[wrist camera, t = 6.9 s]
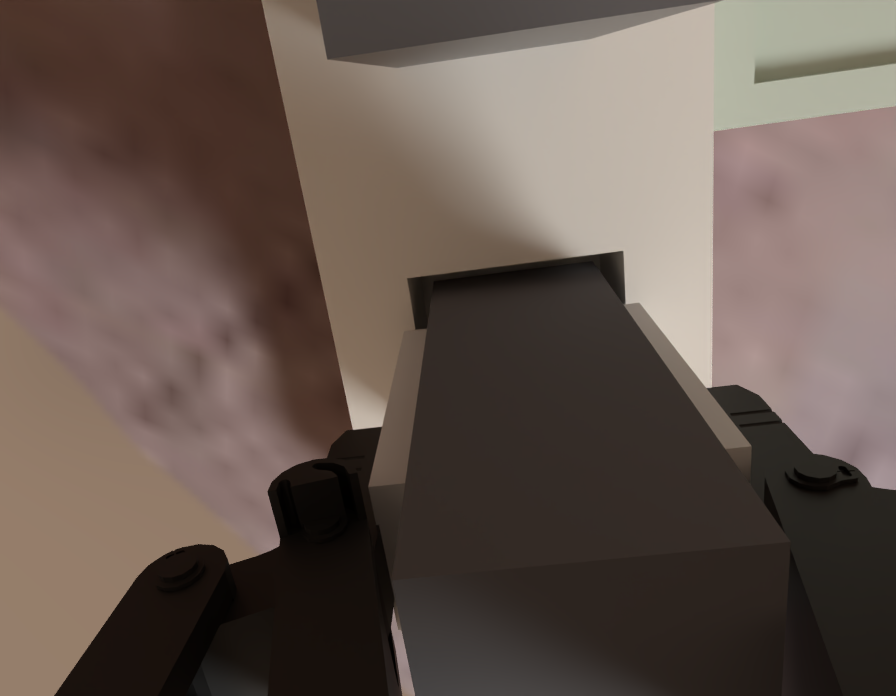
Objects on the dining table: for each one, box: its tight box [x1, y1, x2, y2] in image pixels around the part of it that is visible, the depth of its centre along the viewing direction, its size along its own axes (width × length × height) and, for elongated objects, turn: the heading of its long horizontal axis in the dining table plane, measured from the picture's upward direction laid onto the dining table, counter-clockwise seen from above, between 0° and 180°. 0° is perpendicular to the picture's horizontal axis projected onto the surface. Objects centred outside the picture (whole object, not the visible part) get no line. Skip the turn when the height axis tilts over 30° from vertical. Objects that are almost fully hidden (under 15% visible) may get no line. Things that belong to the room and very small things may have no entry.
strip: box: [262, 0, 723, 430], centre depth 13 cm, size 20×9×12 cm, turn 8°
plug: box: [391, 261, 791, 696], centre depth 13 cm, size 4×4×11 cm
